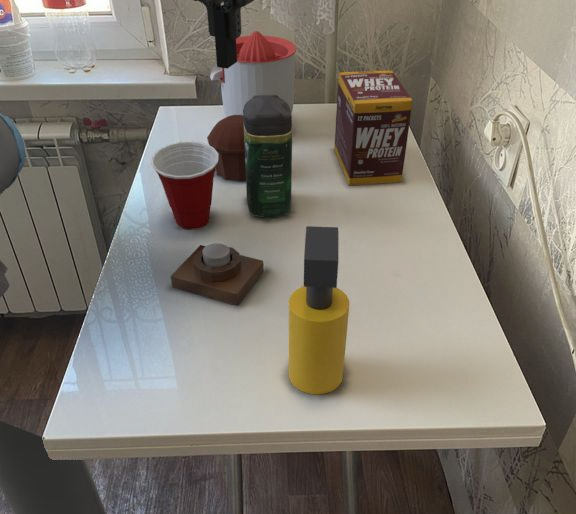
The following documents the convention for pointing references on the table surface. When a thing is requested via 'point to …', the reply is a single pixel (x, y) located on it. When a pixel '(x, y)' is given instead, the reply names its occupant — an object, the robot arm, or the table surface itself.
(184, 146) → the plastic cup
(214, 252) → the button
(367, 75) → the supplement box
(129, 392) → the table surface
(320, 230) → the spray bottle
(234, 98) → the citrus juicer
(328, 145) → the table surface
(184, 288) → the button box
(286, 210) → the coffee jar
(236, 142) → the muffin
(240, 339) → the table surface
